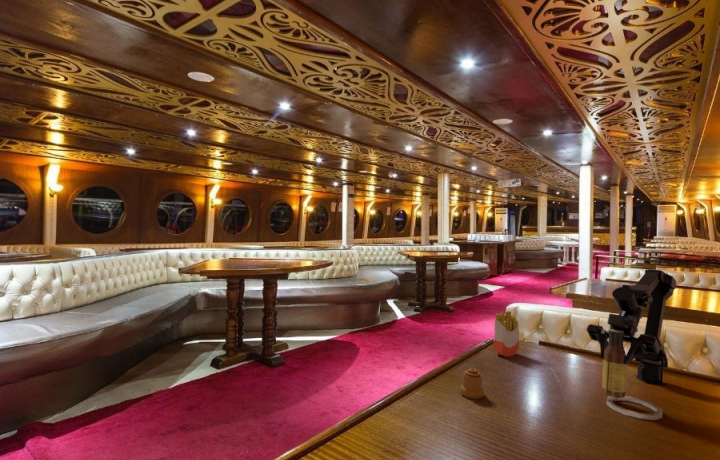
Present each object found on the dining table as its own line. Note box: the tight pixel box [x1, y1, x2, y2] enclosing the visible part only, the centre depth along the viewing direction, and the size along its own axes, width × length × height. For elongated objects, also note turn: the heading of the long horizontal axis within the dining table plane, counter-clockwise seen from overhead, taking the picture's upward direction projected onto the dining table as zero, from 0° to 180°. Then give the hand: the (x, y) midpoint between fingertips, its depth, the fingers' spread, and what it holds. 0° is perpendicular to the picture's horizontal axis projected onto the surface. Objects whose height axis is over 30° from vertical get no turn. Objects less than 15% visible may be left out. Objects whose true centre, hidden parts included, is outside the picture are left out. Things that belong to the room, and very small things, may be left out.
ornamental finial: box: [459, 367, 486, 400], centre depth 121 cm, size 8×8×8 cm
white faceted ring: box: [606, 395, 663, 421], centre depth 115 cm, size 13×13×1 cm
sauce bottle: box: [601, 328, 628, 398], centre depth 119 cm, size 7×6×20 cm
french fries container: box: [493, 310, 520, 358], centre depth 164 cm, size 5×11×18 cm, turn 122°
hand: (613, 360), depth 118 cm, fingers closed on sauce bottle, 6 cm apart
